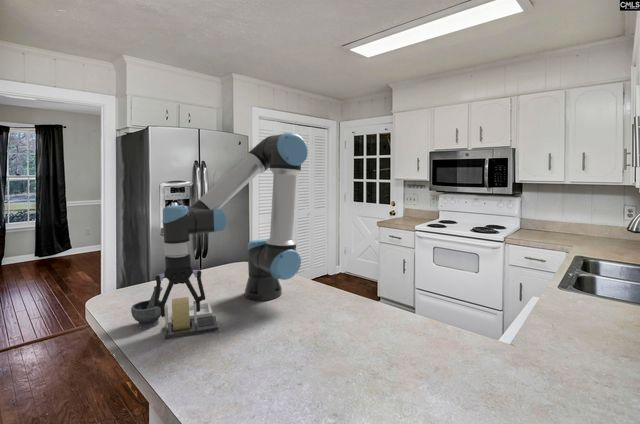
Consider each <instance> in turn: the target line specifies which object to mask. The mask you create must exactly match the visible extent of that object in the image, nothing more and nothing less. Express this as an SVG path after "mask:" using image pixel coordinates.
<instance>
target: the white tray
mask: <svg viewBox="0 0 640 424" xmlns="http://www.w3.org/2000/svg"><path fill="white" fill-rule="evenodd" d="M189 314H190V319H194V305H193V304H189ZM209 316H213V310H212V307H211V303H210V302H209V301H207V302H200V312H197V318H203V317H209Z"/></svg>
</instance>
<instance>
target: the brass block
mask: <svg viewBox="0 0 640 424" xmlns="http://www.w3.org/2000/svg"><path fill="white" fill-rule="evenodd" d="M189 305H190V301H189V296H185V297H177V298H172V299H171V316H172V322H173V328H172V332H176V331H182V330H188V329H191V325H190V314H189Z"/></svg>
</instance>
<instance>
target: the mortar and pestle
mask: <svg viewBox="0 0 640 424" xmlns="http://www.w3.org/2000/svg"><path fill="white" fill-rule="evenodd" d="M163 289H164V288H163V286H162V287H160V294H159V298H160V296H161V292H162V291H163ZM155 293H156V285H154V287H153V292H152V295H151V296H150V299H148V300H142V301H138V302H137V303H134V304H132V305H131V308H130V313H131V316H132V317H133V319H134V320H135V321H136V322H138V327H139V329H150V328H154V327H157V326H158V325H159V324H160V321H159V319H160V318H161V308H160V307H158V306H157V307H155V306H154V300H155ZM159 301H160V302H161V301H162V300H161V299H159Z"/></svg>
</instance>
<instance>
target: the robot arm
mask: <svg viewBox="0 0 640 424" xmlns="http://www.w3.org/2000/svg"><path fill="white" fill-rule="evenodd" d="M308 150H309V149H308V145H307V143H306V141H305V140H304V139H303V137H302V136H301V135H299V134H297V133H292V132H284V133H281V134H275V135H269V136H267V137H265V138H263V139H262V140H261V141H259V143H257V144H256V145H255V146H254V147H253V148H251V150H249V151H248V152H247V153H246V155H245V158H244V160H243V159H242V161H241V162H240V163H239V164H237V166H235V167H234V168H233V169H232V170H231V171H230V172H229V173H228V174H226V175H225V176H224V177H223V178H222V179H221V180H219V181H218V182H217V183H216V184H215V185H213V187H211V188H210V189H209V190H207V192H205V194H203V195H202V196H201V197H200V198H199V199H197V201H195V202H194V203H193V204H191V205H179V204H178V205H167V206H164V207H163V209H162V220H161V221H162V228H163V249H164V255H165V257H164V262H165V263H164V264H165V271H164V272H163V273H156V274H155V276H154V278H155V282H156V285H155V286H156V293H155V300H154V306H155V307H157V306H158V307H160V308H161V316H160V318H164V321H165V324H166V328H167V327H168V323H169V312H168V304H167V301H168V298H169V296H170V294H171V291H172V289H173V287H174V286H175V285H178V284H182V285H183V284H185V285H186V287H187V288H188V290H189V292H190V294H191V295H192V297H193V299H194V300H193V305H194V322H195V323H197V312H200V303H202V301H205V300H206V294H205V290H204V286H203V281H202V269H200V268H198V269H193V267H192V262H191V261H192V259H191V258H192V257H191V254H190V253H191V241H190V240H191V239H190V236H191V235H199V234H207V233H208V234H209V233H210V234H211V233H217V232H222V231H224V230H225V229H226V227H227V216H226V213H225V211H224V210H223V209H221V208H223V206H225V205H226V203H228V202H229V201H230V200H231V199H232V198H234V197H235V195H237V194H238V193H239V192H240V191H241V190H242V189H243V188H244V187H246V186H247V185H248V184H249V183H250V182H251V181H252V180H253V179H254V178H256V177H257V175H258V174H263V173H265V172H266V171H267V170H268V169H269V170H270V172H272V174H273V175H272V176H273V177H272V178H273V179H272V192H271V193H272V194H271V195H272V196H271V211H270V212H271V213H270V217H271V218H270V228H269V229H270V230H269V231H270V232H269V233H270V234H269V238H262V239H254V240H251V241H249V242H248V243H247V263H248V264H247V265H248V269H247V271H248V279H247V282H246V285H245V289H244V297H245V298H246V299H249V300H250V301H269V300H274V299H277V298H279V297H280V296H281V295H282V294H283V293H282V291H283V289H282V285H281V283H280V280H284V281H286V280H290V279H292V278H293V277H295V275H296V274H298V272H299V270H300V269H301V265H302V258H301V254H299V252H298V251H297V242H296V241H295V239H294V237H293V236H294V222H295V221H294V220H295V209H296V208H295V206H296V204H295V203H296V190H297V189H296V185H297V176H298V174H300V173H301V172H302V164H304V162H305V161H306V160H307V158H308V155H309V152H308ZM192 275H194V278H196V281H197V284H198V285H197V286H198V289H199V290H198V291H199V294H200V296H199V295H198V293H197V291H196V289H195V287H194V286H193V284H192V282H191V280H190V278H191V276H192ZM164 278H166V279H167V280H168V283H167V285H166V286H167V287H166V289H165V292H164V294H163V296H162V299H161V300H160V297H159V294H160V295H161V293H160V287H161V285H162V281H164ZM159 300H160V301H161V302H160V301H159Z"/></svg>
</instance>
